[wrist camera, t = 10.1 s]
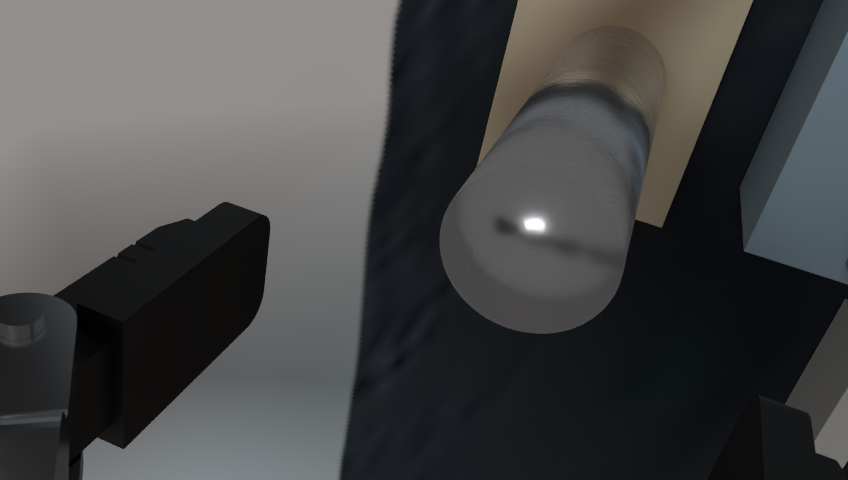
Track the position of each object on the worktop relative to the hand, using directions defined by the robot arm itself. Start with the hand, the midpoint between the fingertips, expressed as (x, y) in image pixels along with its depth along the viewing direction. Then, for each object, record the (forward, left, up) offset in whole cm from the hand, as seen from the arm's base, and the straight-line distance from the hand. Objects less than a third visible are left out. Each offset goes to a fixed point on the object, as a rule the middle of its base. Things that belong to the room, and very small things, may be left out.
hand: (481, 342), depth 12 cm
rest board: (0, 0, -17) cm, 17 cm away
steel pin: (0, 0, -16) cm, 16 cm away
